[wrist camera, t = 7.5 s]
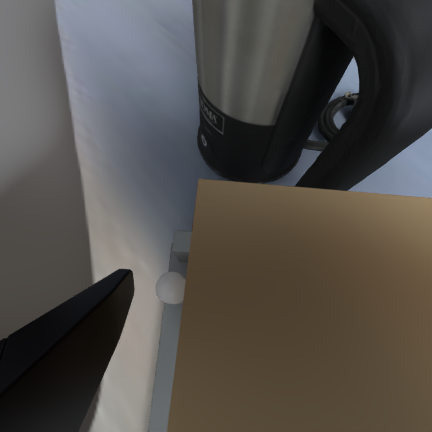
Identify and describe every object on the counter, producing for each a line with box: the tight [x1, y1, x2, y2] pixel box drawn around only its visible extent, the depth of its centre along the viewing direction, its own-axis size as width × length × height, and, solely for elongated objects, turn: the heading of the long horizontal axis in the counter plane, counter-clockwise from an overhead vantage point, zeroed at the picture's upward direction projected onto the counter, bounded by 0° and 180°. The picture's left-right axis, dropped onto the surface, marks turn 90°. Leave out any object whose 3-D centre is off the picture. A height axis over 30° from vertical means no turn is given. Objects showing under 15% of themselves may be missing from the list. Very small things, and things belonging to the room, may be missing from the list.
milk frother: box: [192, 0, 432, 191], centre depth 14 cm, size 14×16×15 cm
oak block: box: [167, 179, 432, 432], centre depth 9 cm, size 6×4×12 cm
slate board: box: [148, 231, 192, 432], centre depth 13 cm, size 12×9×4 cm
